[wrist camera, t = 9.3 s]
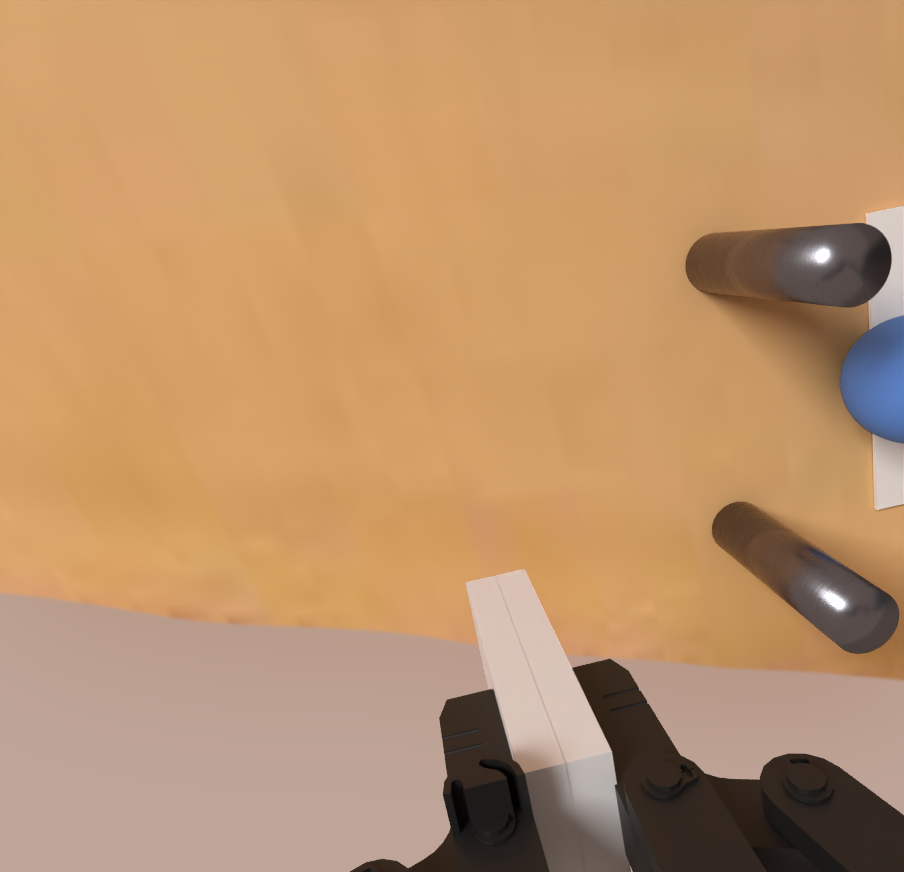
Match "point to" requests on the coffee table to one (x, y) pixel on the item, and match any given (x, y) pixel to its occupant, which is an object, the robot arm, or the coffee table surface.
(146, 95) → the coffee table surface
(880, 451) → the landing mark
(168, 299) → the coffee table surface
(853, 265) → the post
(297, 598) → the coffee table surface
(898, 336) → the ball
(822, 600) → the post
